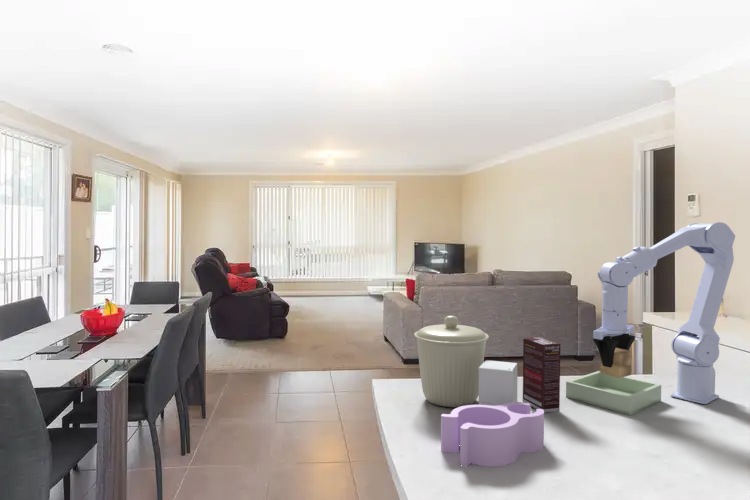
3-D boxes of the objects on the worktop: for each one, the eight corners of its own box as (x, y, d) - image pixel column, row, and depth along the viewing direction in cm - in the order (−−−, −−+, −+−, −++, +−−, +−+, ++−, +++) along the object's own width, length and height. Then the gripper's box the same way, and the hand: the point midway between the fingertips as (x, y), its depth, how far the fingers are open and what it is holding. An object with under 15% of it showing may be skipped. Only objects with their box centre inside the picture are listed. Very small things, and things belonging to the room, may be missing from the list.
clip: (515, 429, 106) (515, 397, 106) (558, 453, 95) (559, 416, 94) (433, 446, 98) (433, 410, 98) (470, 473, 86) (470, 434, 86)
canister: (474, 419, 111) (475, 324, 111) (401, 405, 120) (401, 318, 120) (497, 396, 127) (497, 313, 127) (430, 385, 136) (431, 308, 135)
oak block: (611, 369, 128) (612, 346, 128) (630, 375, 124) (631, 351, 124) (600, 372, 125) (601, 349, 125) (619, 378, 121) (620, 353, 121)
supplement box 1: (518, 418, 112) (518, 362, 111) (512, 430, 105) (513, 370, 105) (485, 413, 115) (485, 359, 114) (477, 425, 108) (477, 366, 108)
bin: (598, 385, 136) (598, 370, 136) (661, 400, 124) (661, 384, 124) (566, 397, 127) (566, 381, 126) (630, 415, 114) (630, 397, 114)
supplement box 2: (560, 411, 116) (561, 343, 116) (542, 413, 115) (543, 344, 114) (538, 399, 125) (539, 336, 124) (521, 401, 123) (522, 337, 123)
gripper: (612, 315, 117) (611, 372, 118) (646, 310, 125) (645, 364, 126) (585, 311, 123) (584, 366, 124) (619, 306, 131) (618, 358, 131)
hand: (613, 364), depth 125 cm, fingers closed on oak block, 5 cm apart
